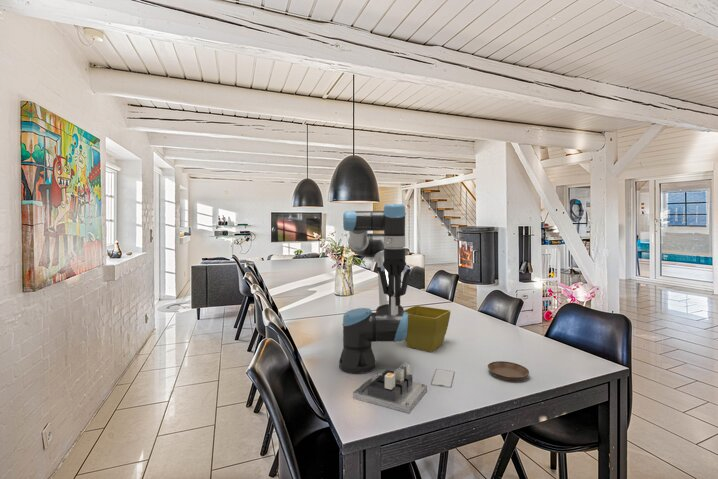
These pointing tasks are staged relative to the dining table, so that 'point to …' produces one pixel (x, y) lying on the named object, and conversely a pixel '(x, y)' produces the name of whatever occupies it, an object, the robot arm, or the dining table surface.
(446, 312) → the flower pot
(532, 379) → the dining table surface
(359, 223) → the robot arm
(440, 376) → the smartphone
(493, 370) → the saucer
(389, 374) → the block with orange pad
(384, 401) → the panel
